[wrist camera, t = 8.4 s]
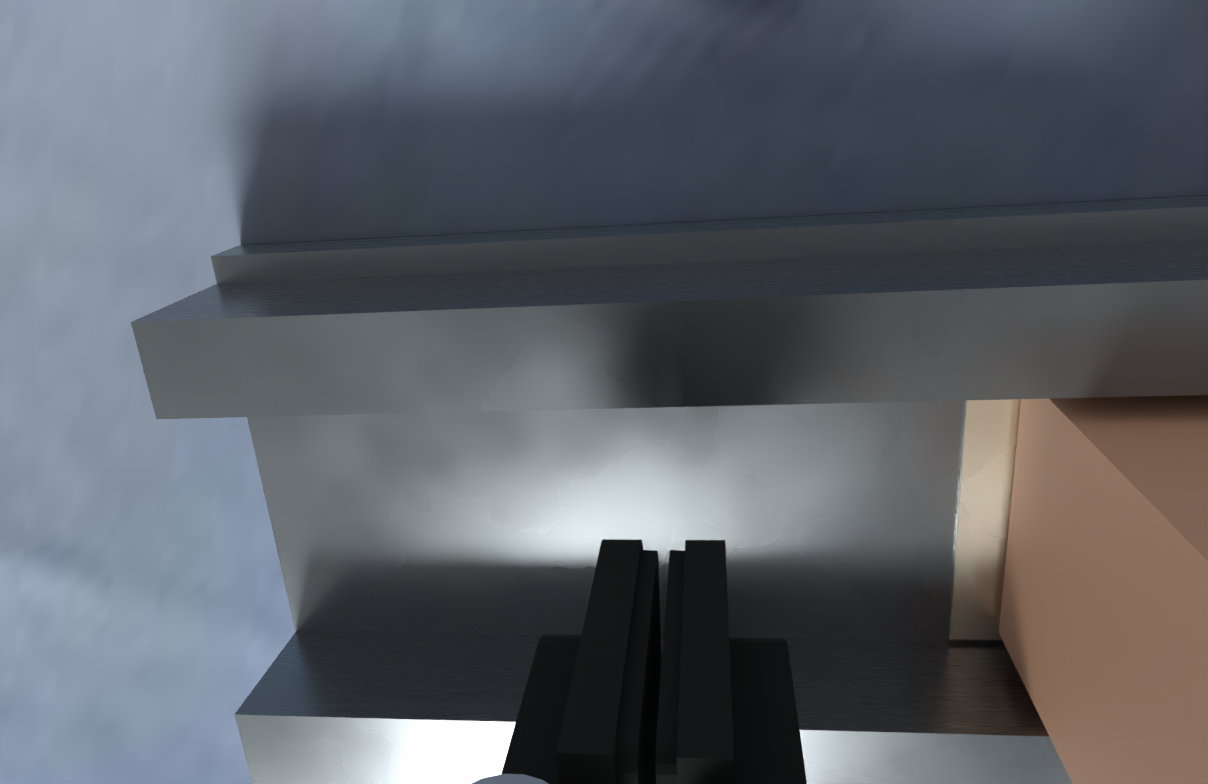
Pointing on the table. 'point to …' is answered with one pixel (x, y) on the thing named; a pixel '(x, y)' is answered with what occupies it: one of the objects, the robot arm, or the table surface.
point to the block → (1113, 583)
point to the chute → (668, 458)
